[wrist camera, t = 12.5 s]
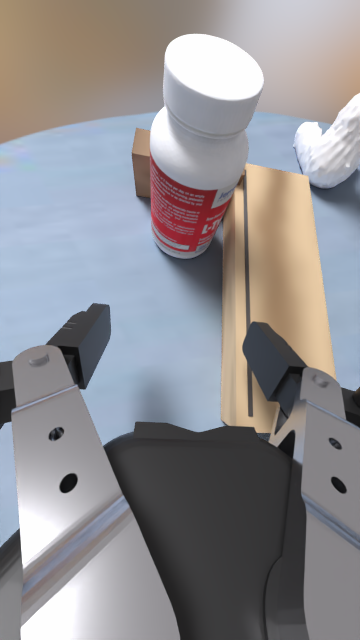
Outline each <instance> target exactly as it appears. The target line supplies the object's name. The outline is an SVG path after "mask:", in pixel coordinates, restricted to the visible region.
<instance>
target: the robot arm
mask: <svg viewBox="0 0 360 640" xmlns="http://www.w3.org/2000/svg"><path fill="white" fill-rule="evenodd" d="M110 335H111V322H110V307H109V305H106V304H97V303H93V304H92V305H91V306H90V307H89V309H88V310H87V311H86V312H85V311H81V312H79V313H77V314H75V315H73V316H72V317H71V318H70V319H69V320H68V321H67V323H65V324H64V325H63V327H62V328H61V329H60V330H59V331H58V332H57V333H56V334H55V335H54V336H53V337H52V338H51V339H50V340H49V341H48V342H47V344H46V345H41V346H36V347H32V348H30V349H27V350H25V351H23V352H22V353H20V354H19V355H17V356H16V357H15V359H14V360H13V361H7V362H0V429H1V428H2V426H3V425H4V423H7V422H11V421H12V431H13V444H14V457H15V470H16V482H17V495H18V508H19V521H20V528H19V529H18V530H17V531H16V532H15V533H14V534H13V535H12V536H11V537H10V538H9V539H8V540H7V541H6V542H5V543H4V544H3V545H2V546H1V547H0V640H360V387H359V388H358V389H357V390H356V391H351V390H348V389H345V388H342V387H340V385H339V383H338V382H337V381H336V380H335V379H334V378H333V377H331V376H330V375H329V374H327V373H325V372H323V371H321V370H319V369H316V368H311V367H308V366H307V365H306V364H305V362H304V361H303V360H302V359H301V358H300V357H299V356H298V354H297V353H296V352H295V351H294V350H293V349H292V348H291V346H290V345H288V343H287V342H286V341H285V340H284V339H283V337H281V336H280V335H278V334H277V333H276V332H275V331H274V330H273V329H272V328H271V327H270V325H269V324H268V323H265V322H256V321H253V322H252V323H251V324H250V327H249V329H248V331H247V334H246V336H245V339H244V341H243V345H242V351H243V354H244V356H245V358H246V360H247V362H248V364H249V366H250V368H251V370H252V372H253V374H254V376H255V378H256V380H257V382H258V384H259V386H260V388H261V390H262V392H263V394H264V396H265V398H266V399H267V401H270V402H278V403H279V404H280V405H279V406H278V408H277V410H276V414H275V418H274V422H273V427H272V431H271V435H270V439H269V442H267V441H265V440H263V439H261V438H258V436H257V433H256V431H255V428H254V427H246V426H223V427H219V428H215V429H212V430H208V431H204V432H193V431H190V430H187V429H184V428H181V427H178V426H174V425H171V424H168V423H155V422H136V423H135V429H134V432H131V433H127V434H124V435H122V436H119V437H117V438H115V439H113V440H111V441H110V442H108V443H107V444H105V445H104V446H103V445H102V443H101V441H100V438H99V436H98V433H97V431H96V429H95V426H94V424H93V421H92V419H91V416H90V414H89V412H88V409H87V407H86V404H85V402H84V399H83V397H82V395H81V392H80V390H79V389H86V387H87V385H88V383H89V381H90V379H91V377H92V375H93V373H94V371H95V369H96V366H97V364H98V362H99V360H100V358H101V356H102V354H103V352H104V350H105V348H106V346H107V344H108V342H109V339H110Z"/></svg>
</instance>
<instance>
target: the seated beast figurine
mask: <svg viewBox="0 0 360 640" xmlns="http://www.w3.org/2000/svg"><path fill="white" fill-rule="evenodd" d="M321 135H322V129H321V128H319V126H318V123H317V122H313V123H311V122H305V123H303V124H302V125H301V126H300V127H299V128H298V130H297V132H296V135H295V140H294V145H293V147H294V148H295V150H296V154H297V158H298V161H299V164H300V167H301V168H302V172H303V175H306V176H308V178H309V183H310V184H312V185H313V186H316V187H318V188H322V189H324V188H326V189H327V188H328V189H329V188H331V187H335V186H336V185H337V184H339V183H341V182H342V181H345V180H346V179H347V178H348V177H349V176H350V175H351V174H352V173H353V172H354V171H355V170H356V169H357V168H358V166H359V165H360V94H358V95H356V96H354V97H353V98H352V100H351V101H350V102H349V103H348V104H347V105H346V107H345V108H343V109H342V110H341V111H340V112H339V113H338V116H337V118H336V120H335V122H334V123H333V124H332V126H331V127H330V129H328V130H327V131H326V133H325V134H324V135H322V136H321Z"/></svg>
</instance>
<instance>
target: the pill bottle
mask: <svg viewBox="0 0 360 640" xmlns="http://www.w3.org/2000/svg"><path fill="white" fill-rule="evenodd" d="M164 65H165V67H164V82H163V95H164V104H165V106H164V107H163V108H162V109H161V110H160V112H159V113H158V114H157V116H156V117H155V119H154V121H153V124H152V128H151V132H150V179H151V227H152V235H153V238H154V240H155V242H156V244H157V245H158V246H159V248H160V249H161V250H163V251H164V252H165V253H167V254H169V255H171V256H173V257H176V258H182V259H188V258H193V257H196V256H198V255H200V254H202V253H203V252H204V251H205V250H206V249H207V248H208V246H209V245H210V243H211V241H212V239H213V236H214V234H215V232H216V230H217V228H218V226H219V223H220V221H221V219H222V217H223V214H224V212H225V210H226V208H227V206H228V204H229V201H230V199H231V197H232V195H233V192H234V190H235V188H236V186H237V184H238V182H239V179H240V177H241V175H242V172H243V170H244V167H245V165H246V162H247V158H248V149H249V147H248V138H247V134H246V131H245V129H246V128H247V126H248V124H249V122H250V121H251V119H252V116H253V114H254V111H255V108H256V106H257V103H258V100H259V97H260V94H261V92H262V89H263V85H264V78H263V74H262V71H261V69H260V67H259V65H258V64H257V63H256V61H255V60H254V59H253V58H252V57H251V56H249V54H247V53H246V52H245V51H243V50H242V49H241V48H239V47H238V46H236V45H234V44H232V43H231V42H229V41H226V40H224V39H221V38H218V37H214V36H210V35H205V34H188V35H184V36H181V37H178V38H176V39H175V40H173V41H172V42H171V43H170V44H169V46H168V48H167V50H166V53H165V64H164Z"/></svg>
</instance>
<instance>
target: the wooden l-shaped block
mask: <svg viewBox="0 0 360 640" xmlns="http://www.w3.org/2000/svg"><path fill="white" fill-rule="evenodd" d="M150 132H151V131H149V130H144V129H139V128H136V132H135V137H134V143H133V148H132V161H133V170H134V179H135V188H136V196H142V197H148V198H151V179H150ZM253 321H256V322H265V323H268V324H269V325H270V327H271V328H272V329H273V330H274V331H275V332H276V333H277V334H278V335H280V336H281V337H283V339H284V340H285V341H286V342H287V343H288V345H290V346H291V348H292V349H293V350H294V351H295V352H296V353H297V354H298V356H299V357H300V358H301V359H302V360H303V361H304V362H305V364H306V365H307V366H308V367H311V368H316V369H319V370H321V371H323V372H325V373H327V374H329V375H330V376H331V377H333V378H334V379H335V380H336V374H335V367H334V359H333V352H332V345H331V337H330V330H329V323H328V316H327V308H326V301H325V294H324V287H323V279H322V272H321V265H320V258H319V250H318V243H317V236H316V228H315V221H314V214H313V207H312V199H311V192H310V185H309V178H308V176H306V175H301V174H296V173H291V172H286V171H281V170H276V169H271V168H267V167H262V166H257V165H252V164H247V163H246V165H245V167H244V170H243V172H242V175H241V177H240V179H239V182H238V184H237V186H236V188H235V190H234V192H233V195H232V197H231V199H230V201H229V204H228V206H227V208H226V210H225V212H224V214H223V285H222V365H221V420H222V421H224V422H225V423H226V424H227V425H228V426H246V427H254V428H255V431H256V433H271V431H272V427H273V422H274V418H275V414H276V410H277V408H278V406H279V405H280V404H279V403H278V402H270V401H267V399H266V398H265V396H264V394H263V392H262V390H261V388H260V386H259V384H258V382H257V380H256V378H255V376H254V374H253V372H252V370H251V368H250V366H249V364H248V362H247V360H246V358H245V356H244V354H243V351H242V345H243V341H244V339H245V336H246V334H247V331H248V329H249V327H250V324H251V323H252V322H253Z"/></svg>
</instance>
